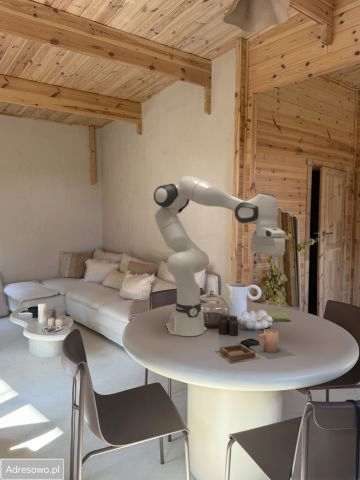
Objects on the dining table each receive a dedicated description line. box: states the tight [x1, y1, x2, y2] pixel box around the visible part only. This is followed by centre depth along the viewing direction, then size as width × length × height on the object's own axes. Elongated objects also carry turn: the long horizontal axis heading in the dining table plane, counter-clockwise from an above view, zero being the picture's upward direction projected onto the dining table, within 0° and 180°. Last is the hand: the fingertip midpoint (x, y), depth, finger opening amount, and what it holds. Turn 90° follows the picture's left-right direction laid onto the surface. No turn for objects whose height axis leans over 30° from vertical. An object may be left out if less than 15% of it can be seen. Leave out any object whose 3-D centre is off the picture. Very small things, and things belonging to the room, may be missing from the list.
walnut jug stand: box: [214, 343, 261, 365], centre depth 143 cm, size 13×13×4 cm
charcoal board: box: [249, 344, 295, 360], centre depth 147 cm, size 14×12×2 cm
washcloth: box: [266, 310, 292, 322], centre depth 198 cm, size 13×18×3 cm
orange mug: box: [258, 328, 280, 353], centre depth 147 cm, size 6×8×8 cm
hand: (266, 264), depth 156 cm, fingers open, 8 cm apart
